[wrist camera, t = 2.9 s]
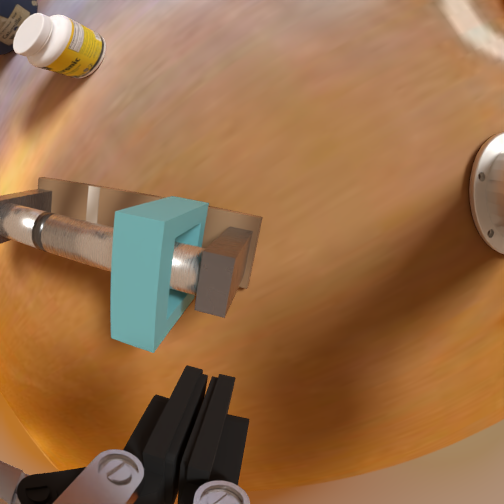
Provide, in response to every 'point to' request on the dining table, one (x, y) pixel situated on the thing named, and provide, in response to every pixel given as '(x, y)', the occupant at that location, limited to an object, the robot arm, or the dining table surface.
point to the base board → (110, 200)
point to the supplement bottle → (59, 45)
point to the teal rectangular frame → (150, 268)
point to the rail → (101, 239)
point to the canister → (13, 20)
